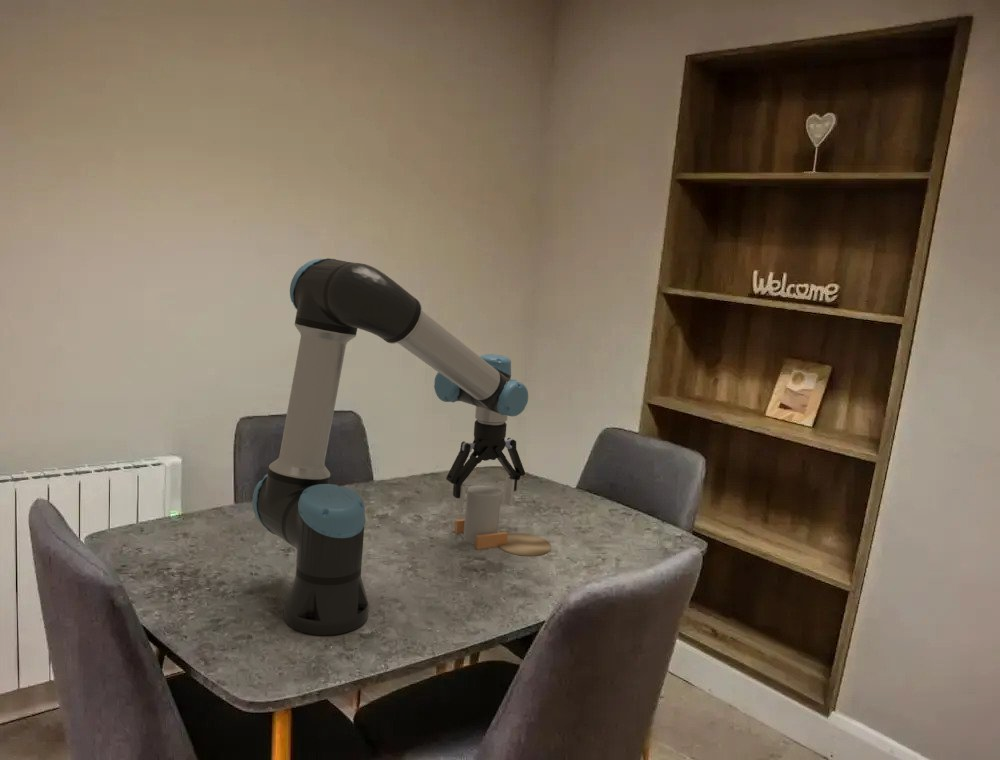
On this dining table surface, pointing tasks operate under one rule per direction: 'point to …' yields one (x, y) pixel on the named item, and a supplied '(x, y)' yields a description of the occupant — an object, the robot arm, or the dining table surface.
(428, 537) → the dining table surface
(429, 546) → the dining table surface
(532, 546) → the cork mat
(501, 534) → the bars
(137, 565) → the dining table surface
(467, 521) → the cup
